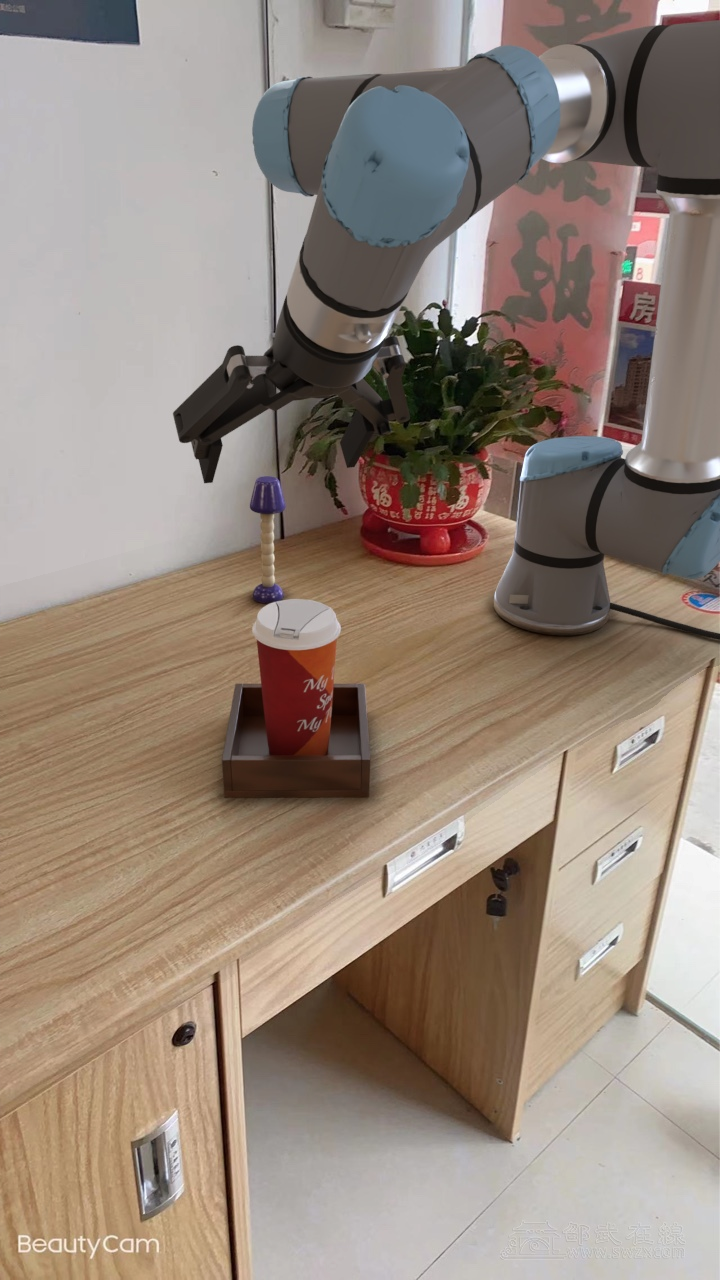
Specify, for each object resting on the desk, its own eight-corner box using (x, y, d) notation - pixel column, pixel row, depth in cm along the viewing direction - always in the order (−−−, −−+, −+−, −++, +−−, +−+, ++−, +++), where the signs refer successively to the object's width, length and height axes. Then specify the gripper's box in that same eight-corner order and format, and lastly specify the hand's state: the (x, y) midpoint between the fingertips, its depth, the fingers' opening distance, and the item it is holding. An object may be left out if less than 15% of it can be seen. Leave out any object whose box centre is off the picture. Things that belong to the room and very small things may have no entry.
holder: (363, 717, 95) (364, 683, 93) (369, 797, 83) (370, 759, 81) (237, 717, 94) (235, 683, 92) (224, 797, 83) (221, 760, 80)
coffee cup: (329, 779, 84) (329, 640, 77) (246, 767, 85) (239, 630, 78) (347, 730, 91) (349, 600, 84) (271, 720, 93) (267, 591, 86)
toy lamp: (257, 587, 123) (253, 472, 116) (290, 590, 123) (288, 474, 115) (249, 602, 119) (244, 483, 111) (283, 605, 119) (280, 486, 111)
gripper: (170, 371, 56) (149, 515, 76) (508, 349, 65) (412, 483, 84) (147, 272, 58) (132, 437, 77) (479, 264, 67) (391, 415, 86)
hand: (278, 462), depth 81 cm, fingers open, 13 cm apart
